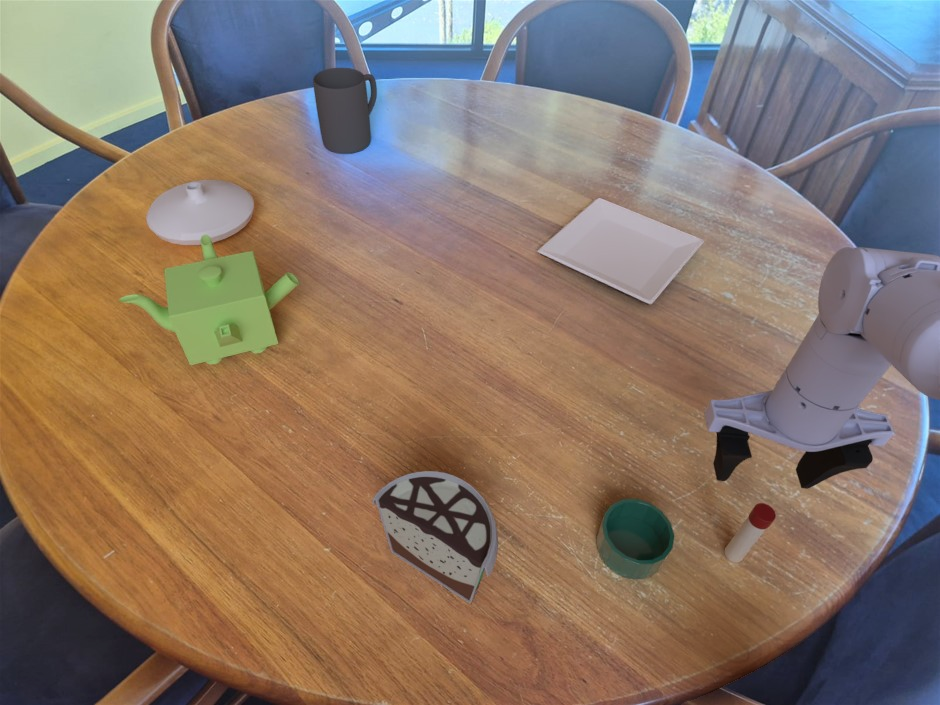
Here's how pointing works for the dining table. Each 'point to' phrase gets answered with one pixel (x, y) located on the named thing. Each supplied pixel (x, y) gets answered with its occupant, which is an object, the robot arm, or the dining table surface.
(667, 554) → the thermos cup
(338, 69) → the mug
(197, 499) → the dining table surface
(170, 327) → the kettle
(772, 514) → the marker
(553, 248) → the plate
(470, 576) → the cake slice
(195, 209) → the grey lid
